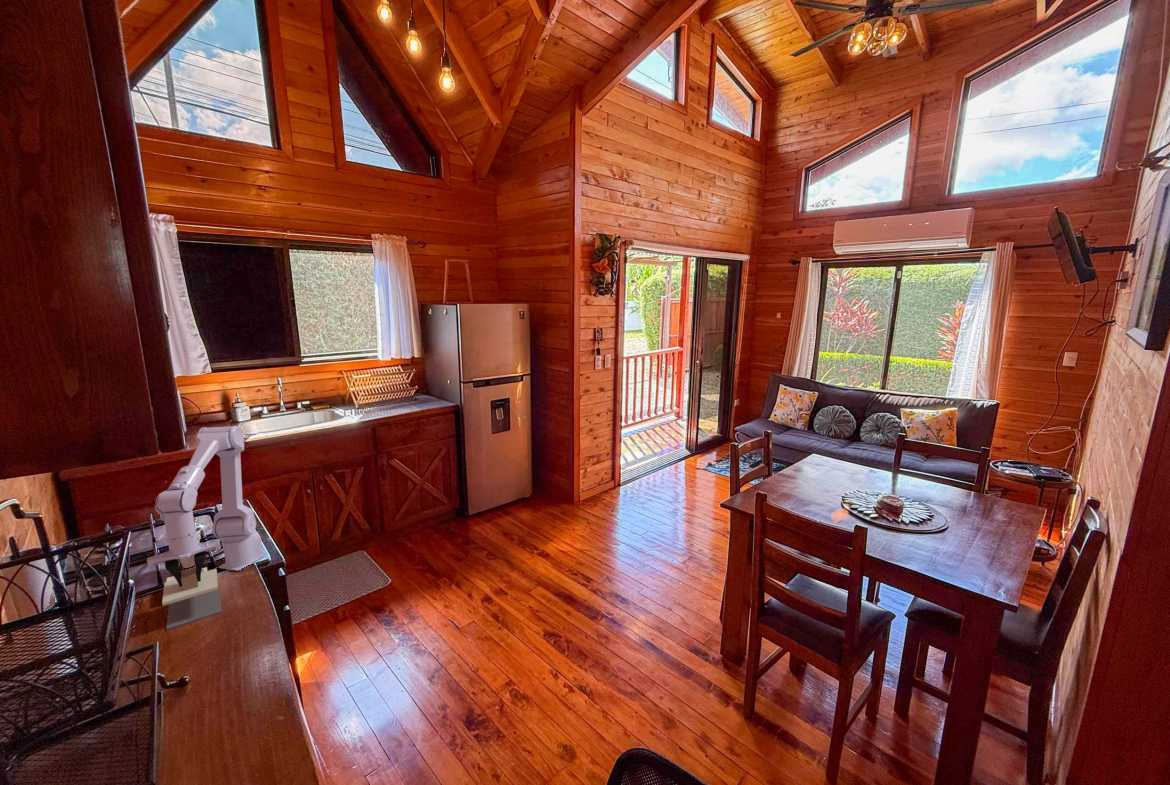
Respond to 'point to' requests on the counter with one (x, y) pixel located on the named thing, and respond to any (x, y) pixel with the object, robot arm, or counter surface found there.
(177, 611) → the mat
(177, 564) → the robot arm
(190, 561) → the smoothie
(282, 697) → the counter surface
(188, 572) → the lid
